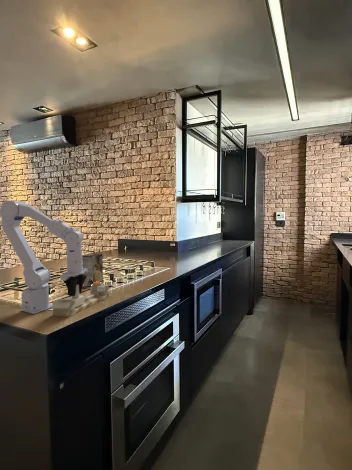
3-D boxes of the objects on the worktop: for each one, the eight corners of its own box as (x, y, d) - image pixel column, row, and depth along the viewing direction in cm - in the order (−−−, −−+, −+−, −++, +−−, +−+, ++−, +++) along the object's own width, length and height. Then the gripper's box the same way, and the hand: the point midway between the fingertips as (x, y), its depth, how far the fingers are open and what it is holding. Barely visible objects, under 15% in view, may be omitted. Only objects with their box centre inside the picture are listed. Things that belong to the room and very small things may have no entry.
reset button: (97, 289, 133) (97, 282, 133) (93, 288, 134) (93, 282, 133) (100, 288, 135) (100, 281, 135) (96, 287, 136) (96, 281, 136)
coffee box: (93, 282, 161) (92, 253, 159) (103, 283, 159) (102, 253, 157) (82, 286, 152) (82, 255, 150) (93, 287, 150) (92, 256, 148)
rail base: (68, 317, 109) (67, 303, 108) (52, 315, 111) (52, 301, 110) (108, 296, 135) (108, 285, 135) (95, 294, 137) (95, 283, 137)
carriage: (75, 307, 115) (75, 287, 114) (66, 306, 116) (65, 286, 115) (85, 303, 120) (84, 283, 119) (76, 301, 122) (75, 282, 121)
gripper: (70, 264, 108) (71, 300, 110) (93, 258, 122) (94, 290, 123) (55, 263, 111) (56, 298, 112) (79, 257, 124) (80, 288, 126)
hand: (75, 294), depth 118 cm, fingers open, 3 cm apart
